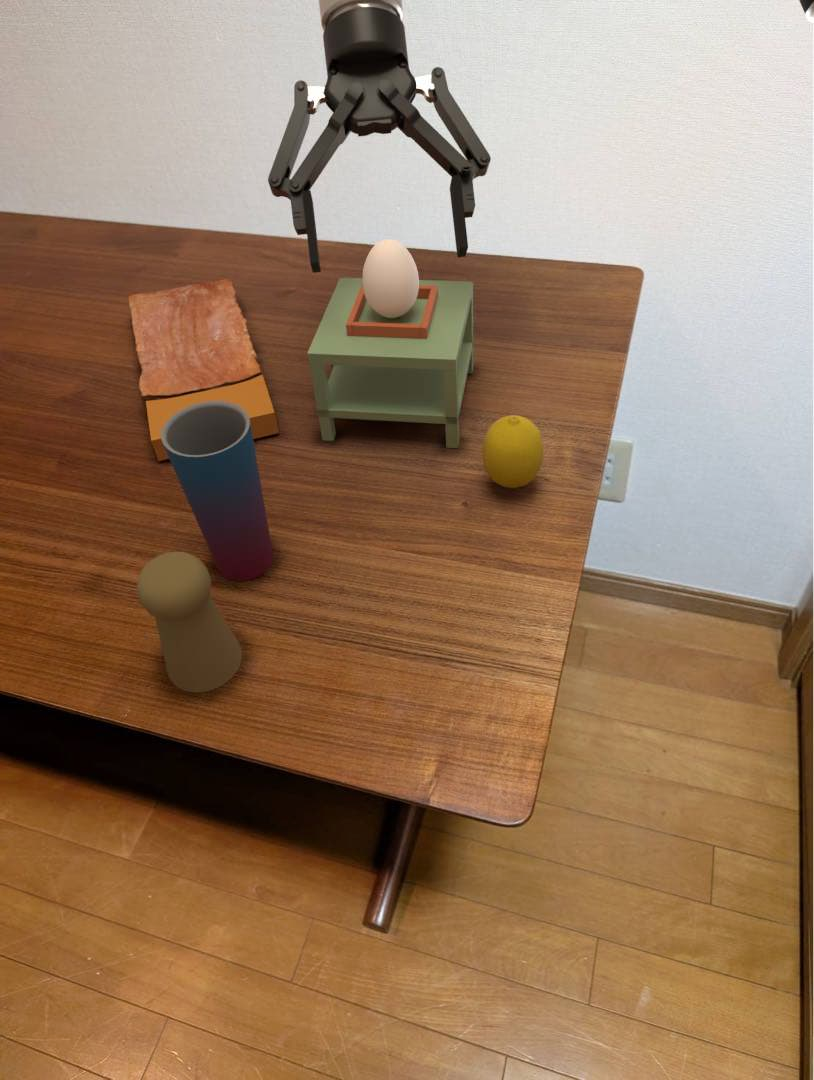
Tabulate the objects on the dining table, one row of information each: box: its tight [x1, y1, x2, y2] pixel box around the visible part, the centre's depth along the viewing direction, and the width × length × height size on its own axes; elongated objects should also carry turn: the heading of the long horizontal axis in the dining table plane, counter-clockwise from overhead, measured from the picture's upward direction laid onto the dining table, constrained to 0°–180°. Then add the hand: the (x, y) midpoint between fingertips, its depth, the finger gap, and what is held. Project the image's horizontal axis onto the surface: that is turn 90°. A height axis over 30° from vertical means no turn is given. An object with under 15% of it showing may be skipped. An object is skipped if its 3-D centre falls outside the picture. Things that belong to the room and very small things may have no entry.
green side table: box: [306, 277, 474, 449], centre depth 85 cm, size 14×14×12 cm
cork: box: [136, 551, 243, 694], centre depth 63 cm, size 6×6×11 cm
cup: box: [161, 401, 274, 582], centre depth 69 cm, size 7×7×15 cm
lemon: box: [481, 414, 544, 489], centre depth 76 cm, size 6×6×8 cm
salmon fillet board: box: [127, 278, 280, 462], centre depth 94 cm, size 13×30×3 cm, turn 17°
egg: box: [361, 238, 420, 318], centre depth 79 cm, size 5×5×8 cm
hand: (389, 260), depth 76 cm, fingers open, 13 cm apart
